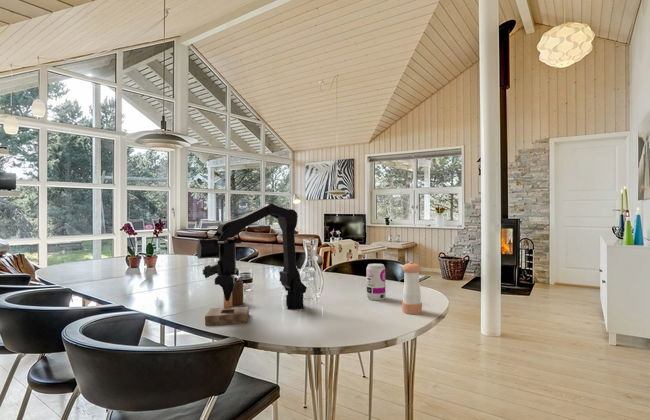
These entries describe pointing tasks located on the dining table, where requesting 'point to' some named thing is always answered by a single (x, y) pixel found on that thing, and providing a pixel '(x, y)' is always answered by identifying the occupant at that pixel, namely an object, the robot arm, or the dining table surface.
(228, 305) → the peg
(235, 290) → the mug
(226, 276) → the robot arm
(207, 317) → the hole block
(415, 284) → the pepper shaker
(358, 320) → the dining table surface
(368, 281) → the supplement can
